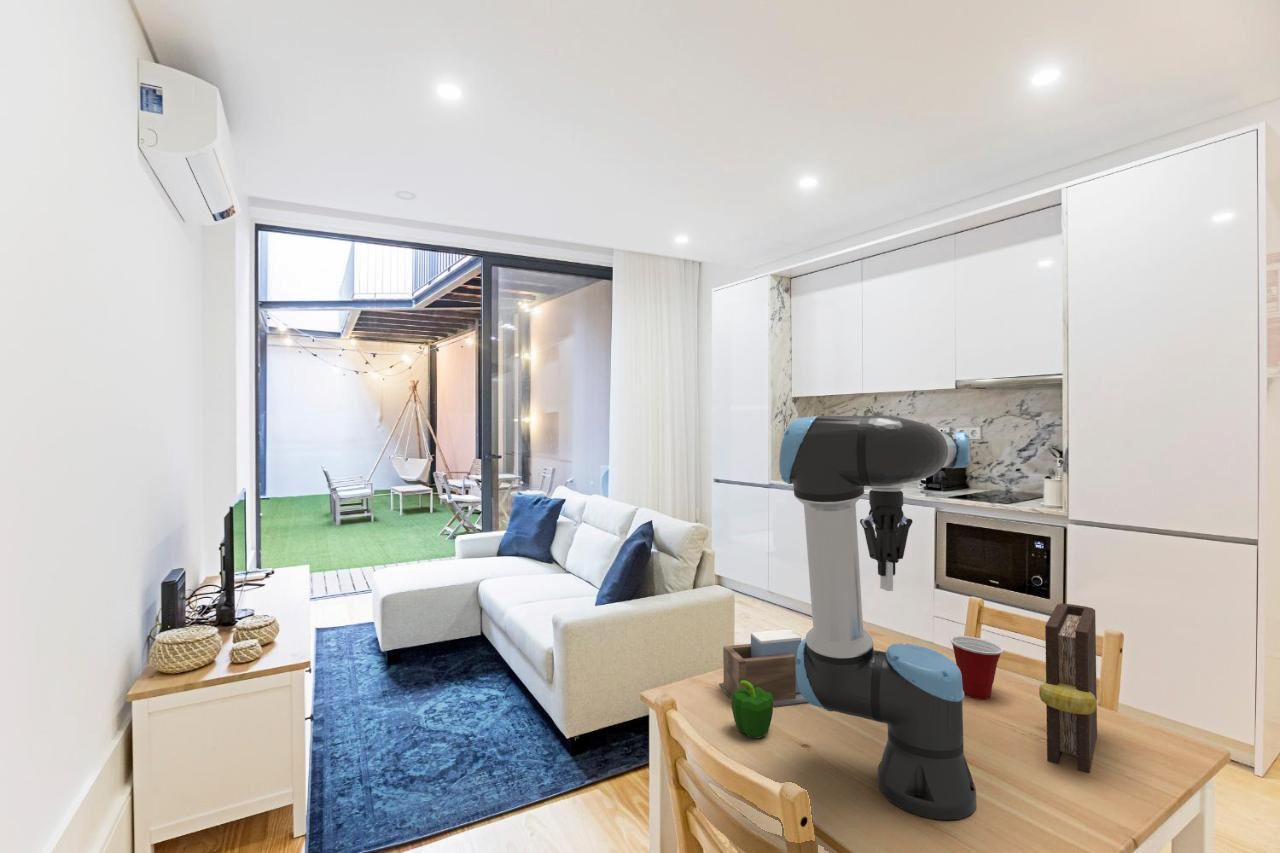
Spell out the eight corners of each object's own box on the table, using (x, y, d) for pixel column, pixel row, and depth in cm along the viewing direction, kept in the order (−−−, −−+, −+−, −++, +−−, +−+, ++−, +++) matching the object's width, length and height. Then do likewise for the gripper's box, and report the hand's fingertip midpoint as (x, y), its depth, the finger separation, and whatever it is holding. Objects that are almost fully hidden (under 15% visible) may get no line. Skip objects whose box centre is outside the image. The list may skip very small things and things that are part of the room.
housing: (816, 702, 136) (815, 658, 136) (741, 711, 132) (740, 665, 132) (787, 677, 150) (787, 637, 150) (719, 685, 146) (718, 643, 146)
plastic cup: (1012, 706, 133) (1012, 652, 134) (960, 703, 135) (959, 649, 135) (992, 685, 144) (991, 635, 144) (944, 683, 146) (943, 633, 146)
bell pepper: (783, 734, 122) (782, 685, 122) (753, 746, 118) (753, 695, 118) (753, 718, 129) (753, 671, 129) (724, 729, 125) (724, 680, 125)
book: (1053, 720, 127) (1051, 601, 127) (1104, 733, 121) (1102, 609, 121) (1037, 765, 110) (1035, 628, 110) (1096, 783, 105) (1093, 638, 105)
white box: (801, 692, 140) (801, 637, 140) (761, 696, 138) (761, 641, 138) (789, 681, 146) (789, 629, 146) (751, 685, 144) (750, 632, 144)
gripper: (899, 488, 149) (900, 584, 148) (852, 488, 146) (853, 587, 145) (920, 490, 142) (921, 591, 141) (871, 491, 139) (871, 594, 138)
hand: (886, 589), depth 143 cm, fingers closed
